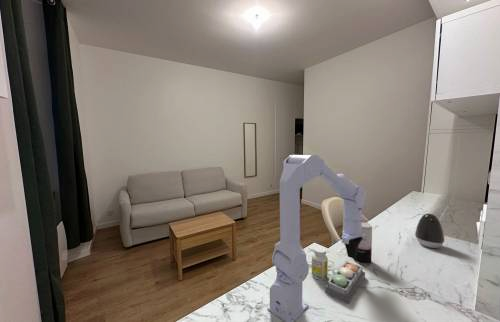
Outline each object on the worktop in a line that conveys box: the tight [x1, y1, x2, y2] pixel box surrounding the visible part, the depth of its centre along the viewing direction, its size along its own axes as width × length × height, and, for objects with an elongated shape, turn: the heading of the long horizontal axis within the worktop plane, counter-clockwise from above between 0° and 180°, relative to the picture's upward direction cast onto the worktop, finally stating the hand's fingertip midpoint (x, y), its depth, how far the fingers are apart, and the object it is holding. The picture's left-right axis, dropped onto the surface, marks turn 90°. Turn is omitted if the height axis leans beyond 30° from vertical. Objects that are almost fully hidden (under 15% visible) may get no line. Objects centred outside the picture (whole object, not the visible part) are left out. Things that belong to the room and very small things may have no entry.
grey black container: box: [353, 221, 373, 265], centre depth 81 cm, size 7×6×15 cm
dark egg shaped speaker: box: [414, 213, 445, 249], centre depth 93 cm, size 10×10×15 cm
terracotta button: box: [345, 263, 358, 273], centre depth 70 cm, size 4×4×2 cm
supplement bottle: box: [311, 246, 329, 281], centre depth 71 cm, size 5×5×10 cm
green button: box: [332, 273, 347, 287], centre depth 62 cm, size 4×4×2 cm
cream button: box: [339, 266, 353, 279], centre depth 66 cm, size 4×4×2 cm
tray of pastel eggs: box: [324, 260, 366, 305], centre depth 66 cm, size 17×7×4 cm, turn 136°
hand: (351, 256), depth 70 cm, fingers closed
